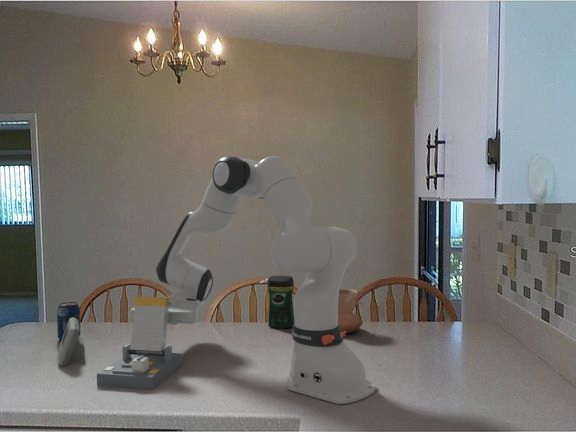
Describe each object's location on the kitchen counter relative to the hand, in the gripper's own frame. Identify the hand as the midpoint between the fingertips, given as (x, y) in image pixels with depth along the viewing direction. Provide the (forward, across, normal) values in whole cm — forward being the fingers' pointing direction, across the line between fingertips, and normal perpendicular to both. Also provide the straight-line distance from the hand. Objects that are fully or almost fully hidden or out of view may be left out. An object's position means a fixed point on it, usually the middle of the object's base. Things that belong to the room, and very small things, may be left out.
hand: (152, 320), depth 130 cm
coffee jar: (-46, +27, +13) cm, 55 cm away
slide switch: (+12, +3, +10) cm, 16 cm away
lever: (+4, 0, +8) cm, 8 cm away
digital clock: (-2, -28, +13) cm, 31 cm away
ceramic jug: (-43, +48, +13) cm, 66 cm away
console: (+6, 0, +13) cm, 14 cm away
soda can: (-19, -41, +13) cm, 47 cm away
